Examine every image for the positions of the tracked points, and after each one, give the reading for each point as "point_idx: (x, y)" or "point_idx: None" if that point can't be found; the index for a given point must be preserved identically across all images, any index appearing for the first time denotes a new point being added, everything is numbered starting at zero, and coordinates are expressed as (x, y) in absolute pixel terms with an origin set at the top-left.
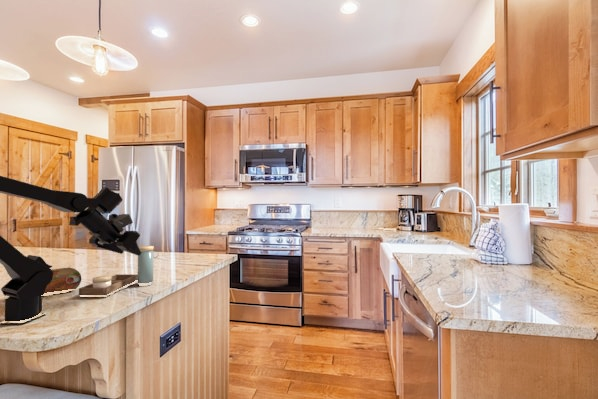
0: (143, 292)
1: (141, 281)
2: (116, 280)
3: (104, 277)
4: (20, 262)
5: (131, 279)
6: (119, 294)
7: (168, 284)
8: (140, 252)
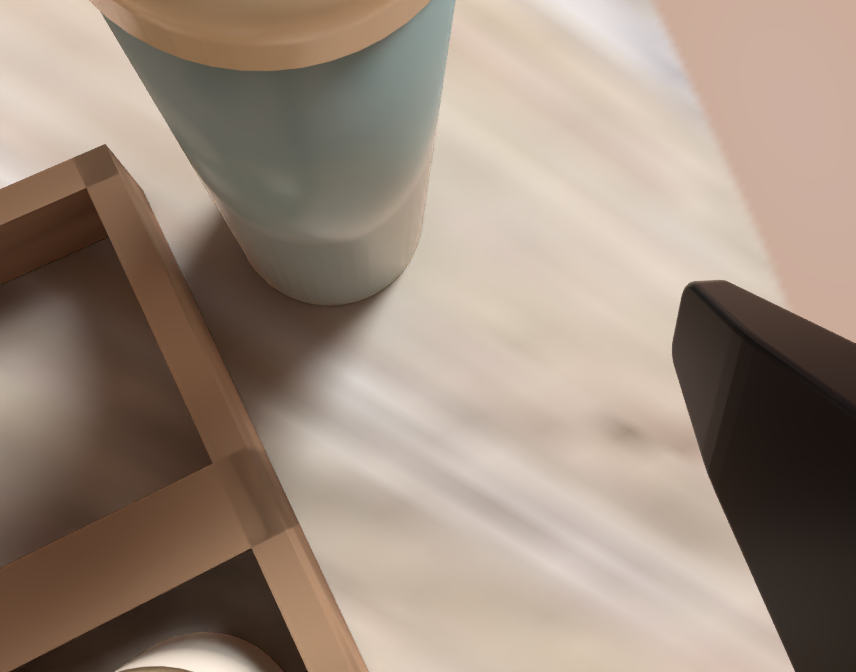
0: (636, 438)
1: (369, 279)
2: (135, 532)
3: None
4: None
5: (193, 320)
6: (446, 640)
7: (590, 79)
8: (748, 304)
